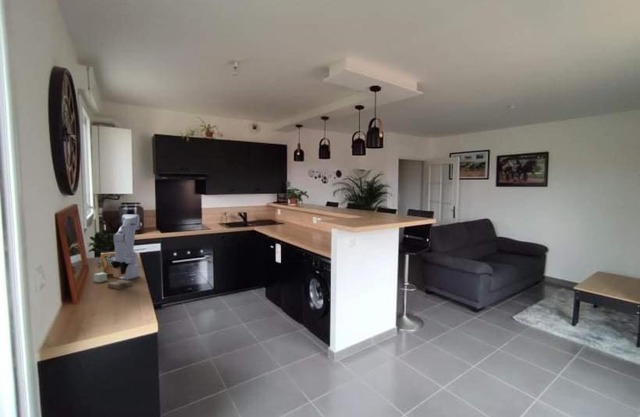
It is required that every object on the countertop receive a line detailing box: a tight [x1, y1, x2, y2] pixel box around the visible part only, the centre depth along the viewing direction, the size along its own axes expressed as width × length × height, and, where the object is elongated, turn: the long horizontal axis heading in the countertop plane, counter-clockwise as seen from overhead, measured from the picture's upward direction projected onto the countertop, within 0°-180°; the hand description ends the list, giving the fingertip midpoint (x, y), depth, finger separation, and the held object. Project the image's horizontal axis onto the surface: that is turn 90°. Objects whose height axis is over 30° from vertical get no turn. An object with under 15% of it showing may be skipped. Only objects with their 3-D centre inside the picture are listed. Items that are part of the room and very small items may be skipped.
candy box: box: [100, 251, 115, 276], centre depth 216 cm, size 9×4×15 cm, turn 129°
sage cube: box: [93, 271, 108, 283], centre depth 200 cm, size 5×5×5 cm
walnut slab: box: [107, 279, 133, 290], centre depth 191 cm, size 9×9×3 cm
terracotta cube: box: [112, 267, 126, 278], centre depth 190 cm, size 5×5×5 cm
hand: (120, 273), depth 191 cm, fingers closed on terracotta cube, 5 cm apart
